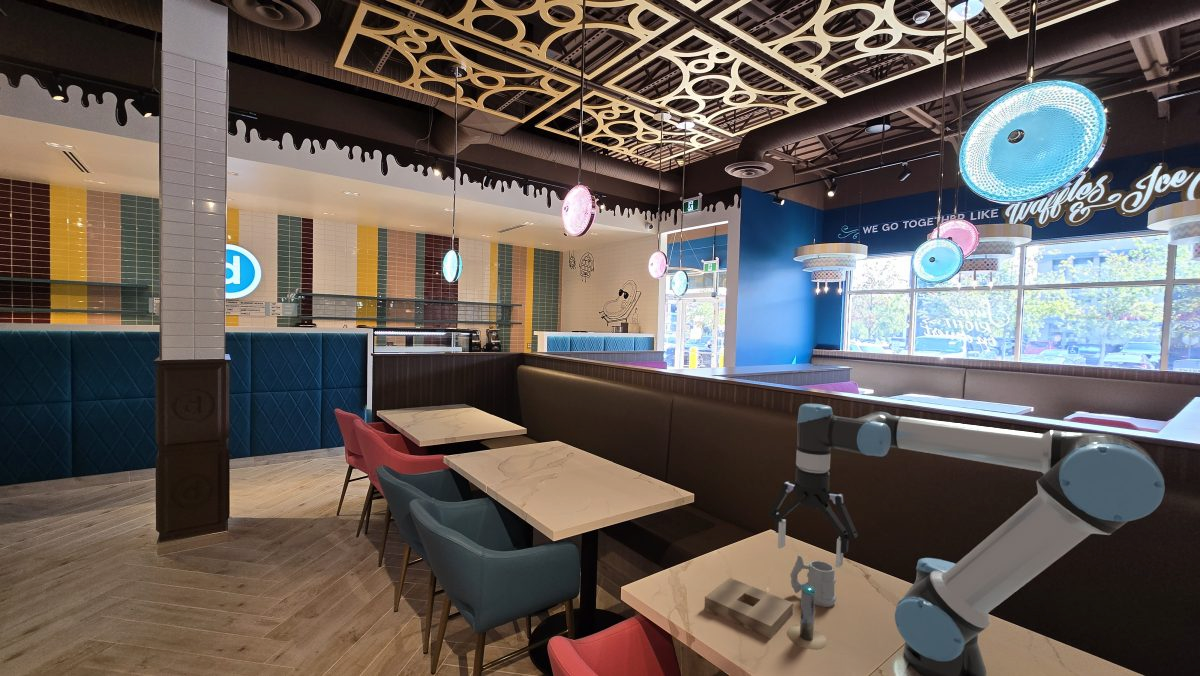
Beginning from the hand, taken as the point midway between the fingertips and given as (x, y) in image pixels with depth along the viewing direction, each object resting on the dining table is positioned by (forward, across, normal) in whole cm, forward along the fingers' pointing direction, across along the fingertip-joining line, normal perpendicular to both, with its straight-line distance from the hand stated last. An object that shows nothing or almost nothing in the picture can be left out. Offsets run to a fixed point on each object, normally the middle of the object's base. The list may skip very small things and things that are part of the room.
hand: (809, 555), depth 118 cm
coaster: (+20, 0, 0) cm, 20 cm away
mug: (+21, +5, -19) cm, 28 cm away
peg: (+20, 0, 0) cm, 20 cm away
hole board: (+20, +15, 0) cm, 25 cm away
